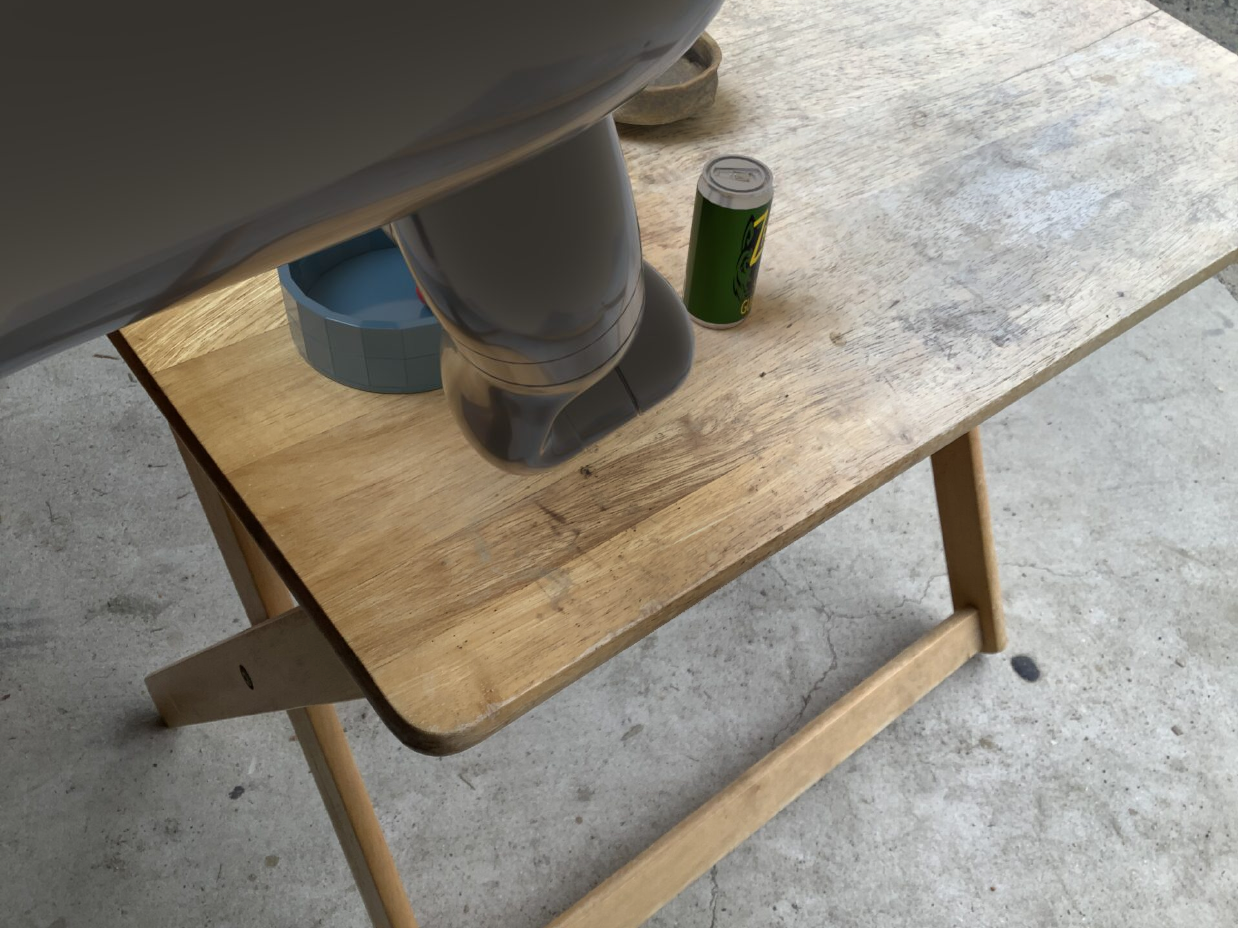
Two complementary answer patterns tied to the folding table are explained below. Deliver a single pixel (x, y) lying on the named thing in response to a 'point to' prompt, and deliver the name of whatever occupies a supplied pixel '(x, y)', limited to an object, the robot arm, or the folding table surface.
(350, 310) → the mixing bowl
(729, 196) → the beer can
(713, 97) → the bowl
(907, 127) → the folding table surface
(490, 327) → the robot arm
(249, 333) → the folding table surface
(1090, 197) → the folding table surface
